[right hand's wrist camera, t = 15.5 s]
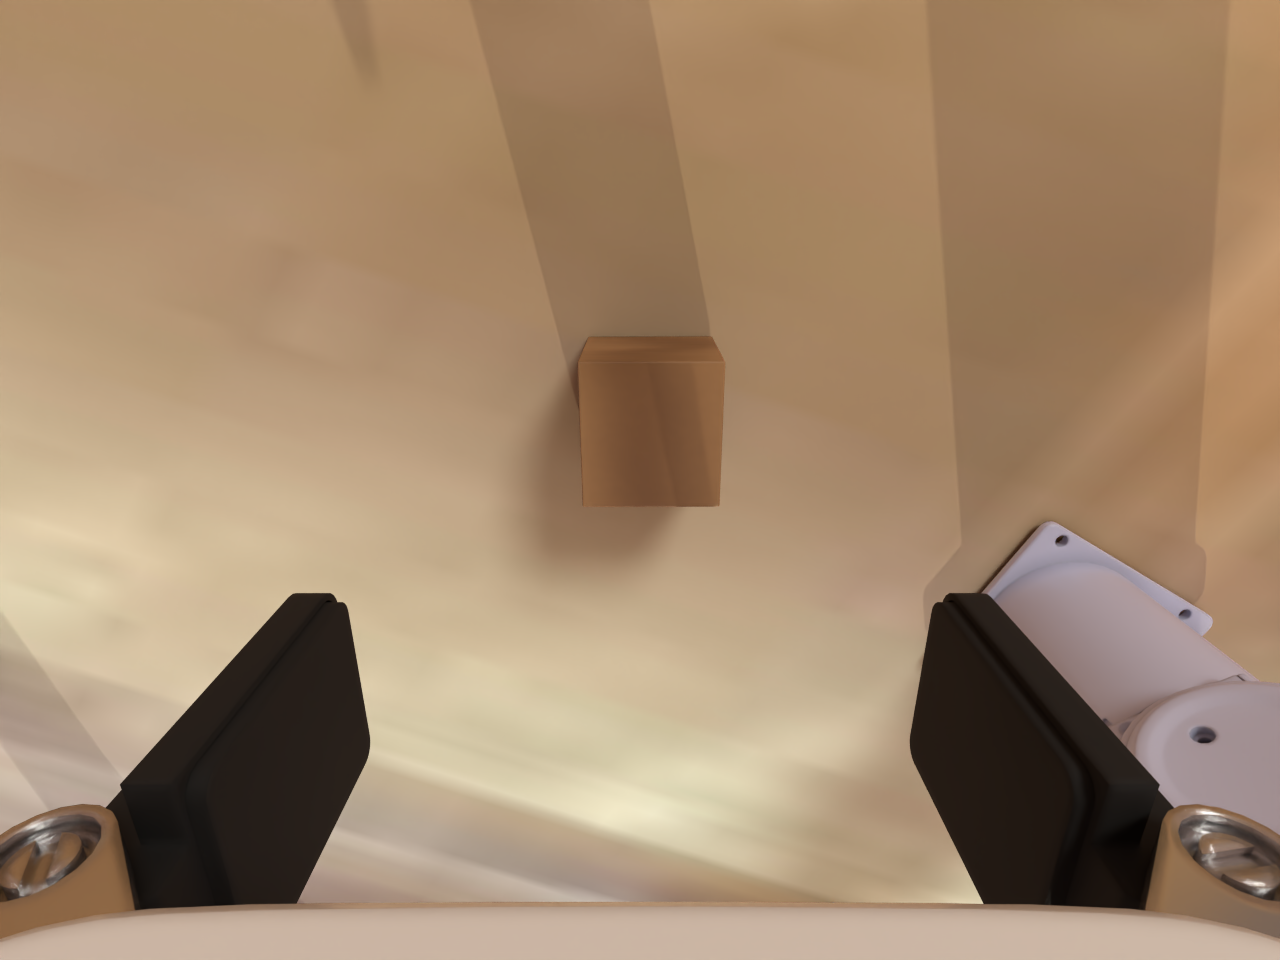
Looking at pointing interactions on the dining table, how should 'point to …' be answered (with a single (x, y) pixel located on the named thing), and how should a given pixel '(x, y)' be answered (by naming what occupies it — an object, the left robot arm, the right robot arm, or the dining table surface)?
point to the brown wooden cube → (651, 421)
